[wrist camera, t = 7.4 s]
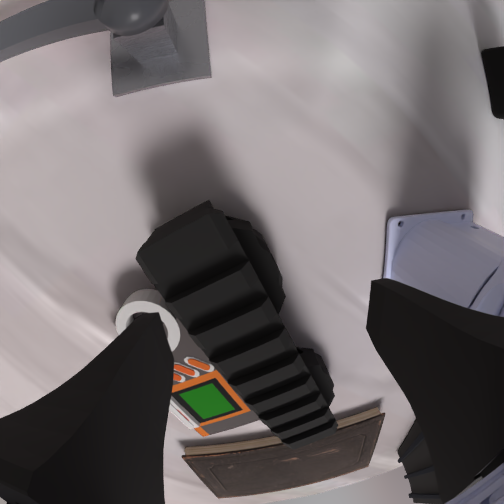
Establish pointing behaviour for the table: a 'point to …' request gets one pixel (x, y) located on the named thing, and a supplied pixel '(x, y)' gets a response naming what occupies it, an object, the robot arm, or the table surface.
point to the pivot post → (163, 51)
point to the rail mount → (240, 319)
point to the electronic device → (190, 373)
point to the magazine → (419, 467)
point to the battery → (495, 78)
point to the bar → (76, 22)
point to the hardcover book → (285, 459)
